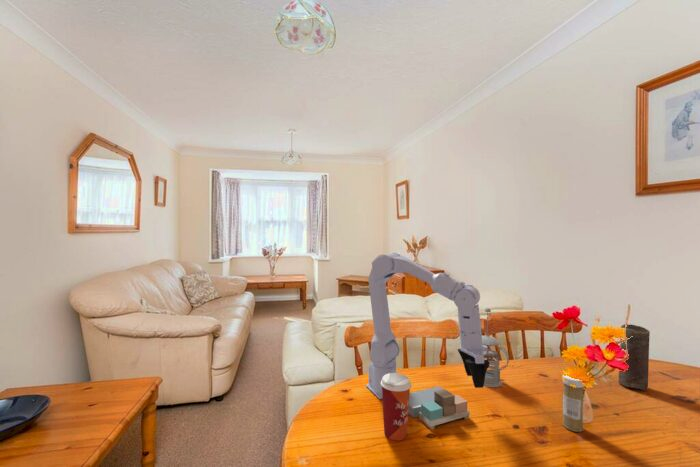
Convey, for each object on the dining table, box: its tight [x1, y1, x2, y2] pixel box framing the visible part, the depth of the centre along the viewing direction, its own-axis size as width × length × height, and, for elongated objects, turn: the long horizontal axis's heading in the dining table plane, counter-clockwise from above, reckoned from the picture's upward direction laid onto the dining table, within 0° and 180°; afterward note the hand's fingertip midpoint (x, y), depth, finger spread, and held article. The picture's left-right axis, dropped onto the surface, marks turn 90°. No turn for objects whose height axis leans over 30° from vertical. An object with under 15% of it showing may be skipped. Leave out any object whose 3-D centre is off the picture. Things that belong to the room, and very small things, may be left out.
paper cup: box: [381, 372, 412, 442], centre depth 81 cm, size 8×8×14 cm
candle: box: [618, 323, 650, 391], centre depth 107 cm, size 8×7×20 cm
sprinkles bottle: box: [562, 375, 585, 433], centre depth 84 cm, size 5×5×14 cm
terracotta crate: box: [454, 394, 468, 413], centre depth 90 cm, size 4×4×2 cm
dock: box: [408, 385, 444, 418], centre depth 95 cm, size 8×15×3 cm, turn 114°
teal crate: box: [421, 401, 443, 421], centre depth 86 cm, size 4×4×2 cm
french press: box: [482, 307, 510, 388], centre depth 110 cm, size 10×12×25 cm
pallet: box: [418, 388, 470, 431], centre depth 88 cm, size 5×13×7 cm, turn 114°
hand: (474, 381), depth 87 cm, fingers open, 7 cm apart
